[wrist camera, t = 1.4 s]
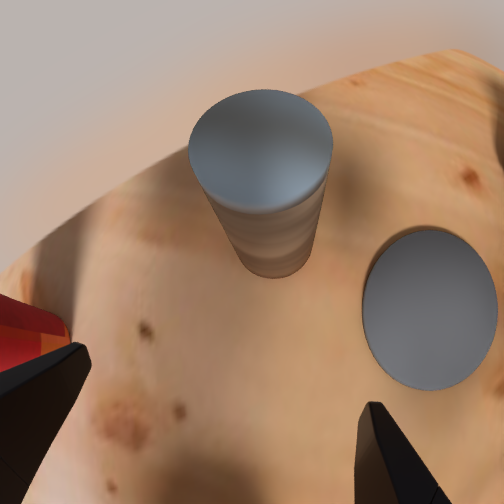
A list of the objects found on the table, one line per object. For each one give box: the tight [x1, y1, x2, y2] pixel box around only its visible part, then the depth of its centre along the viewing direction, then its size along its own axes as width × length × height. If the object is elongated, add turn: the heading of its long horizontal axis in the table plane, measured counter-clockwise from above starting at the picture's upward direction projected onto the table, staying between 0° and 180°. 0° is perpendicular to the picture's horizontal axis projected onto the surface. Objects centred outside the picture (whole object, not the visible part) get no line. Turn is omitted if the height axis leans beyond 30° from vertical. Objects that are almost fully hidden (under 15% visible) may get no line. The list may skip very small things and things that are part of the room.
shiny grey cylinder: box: [188, 90, 333, 279], centre depth 17 cm, size 6×6×12 cm
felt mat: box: [362, 230, 498, 391], centre depth 19 cm, size 12×12×1 cm
